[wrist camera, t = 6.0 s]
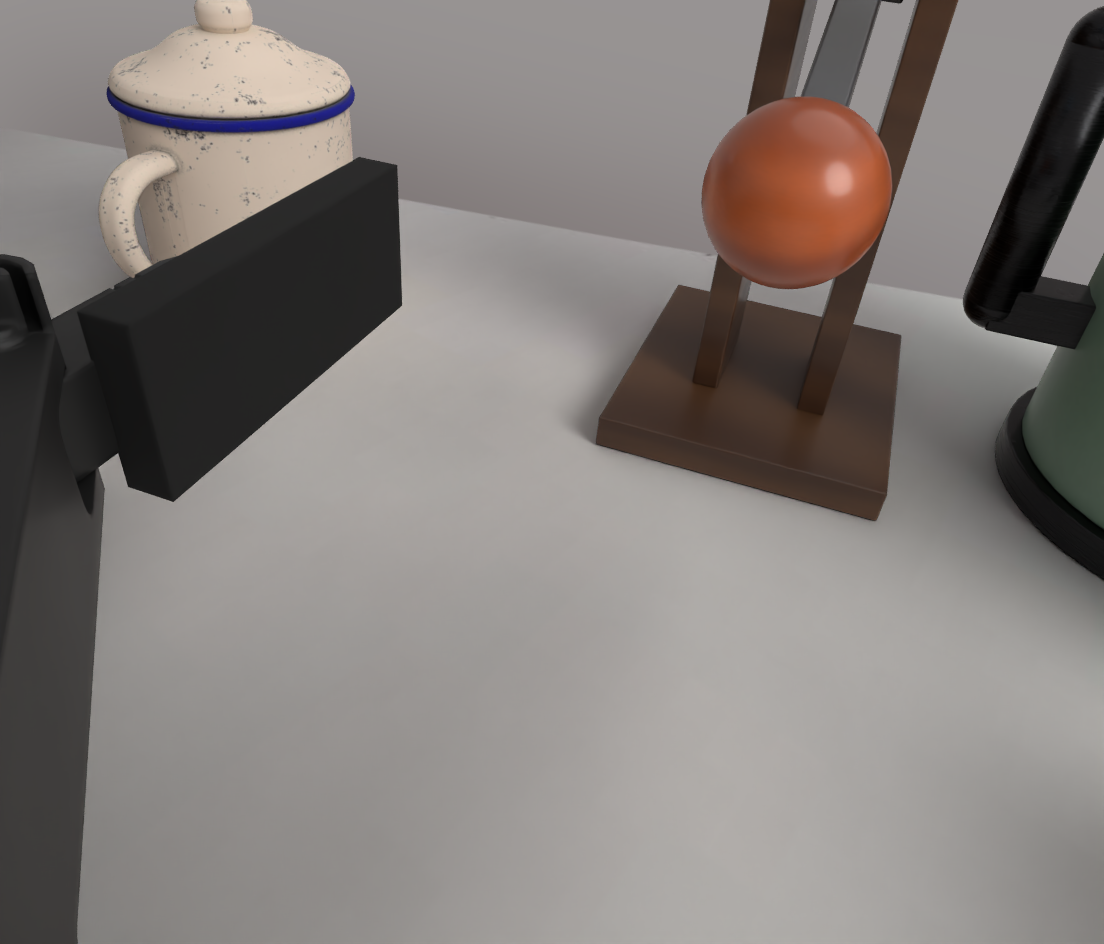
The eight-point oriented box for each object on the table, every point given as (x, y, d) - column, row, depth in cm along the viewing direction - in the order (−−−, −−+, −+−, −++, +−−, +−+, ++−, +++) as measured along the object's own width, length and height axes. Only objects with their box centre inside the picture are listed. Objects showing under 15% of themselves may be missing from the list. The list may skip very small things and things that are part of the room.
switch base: (876, 522, 29) (1135, -114, 18) (594, 444, 31) (674, -161, 20) (893, 358, 38) (1072, -132, 27) (674, 307, 40) (758, -163, 29)
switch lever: (848, 343, 19) (900, 197, 16) (673, 303, 20) (688, 156, 17) (937, -13, 27) (984, -162, 23) (808, -30, 28) (836, -177, 24)
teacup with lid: (244, 232, 43) (203, -34, 36) (403, 273, 41) (393, -2, 34) (51, 336, 34) (-54, 10, 27) (241, 396, 32) (181, 57, 25)
